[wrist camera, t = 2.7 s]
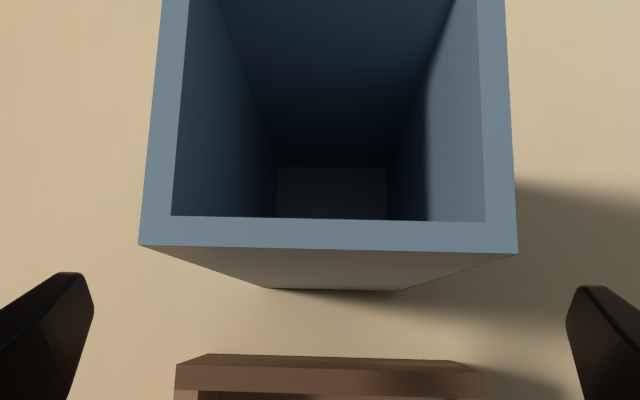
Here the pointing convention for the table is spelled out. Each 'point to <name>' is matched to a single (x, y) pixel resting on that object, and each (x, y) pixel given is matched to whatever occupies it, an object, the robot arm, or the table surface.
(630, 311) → the robot arm
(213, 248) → the tall slate-blue crate
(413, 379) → the walnut crate
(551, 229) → the table surface
